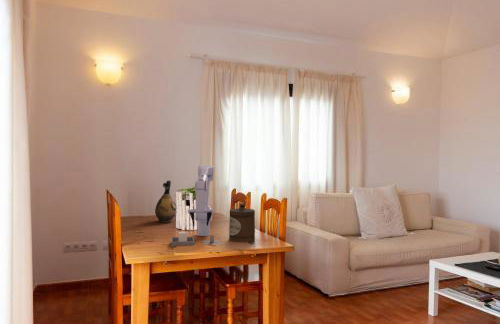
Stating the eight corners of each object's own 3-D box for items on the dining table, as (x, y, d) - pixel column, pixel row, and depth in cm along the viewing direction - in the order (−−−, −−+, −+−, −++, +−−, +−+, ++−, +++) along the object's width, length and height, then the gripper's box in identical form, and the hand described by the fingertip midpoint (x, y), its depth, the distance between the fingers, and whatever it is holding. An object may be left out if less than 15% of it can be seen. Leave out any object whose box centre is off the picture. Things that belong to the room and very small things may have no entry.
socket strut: (178, 244, 215) (178, 233, 215) (178, 242, 220) (178, 231, 220) (186, 244, 216) (187, 233, 216) (186, 242, 221) (186, 231, 221)
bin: (171, 242, 223) (171, 237, 223) (193, 242, 225) (193, 236, 225) (171, 247, 211) (171, 242, 211) (194, 247, 213) (194, 241, 213)
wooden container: (225, 239, 233) (226, 202, 233) (248, 237, 240) (249, 201, 239) (234, 245, 220) (235, 205, 219) (259, 243, 226) (259, 204, 226)
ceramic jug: (174, 223, 283) (174, 181, 283) (152, 223, 283) (153, 181, 283) (178, 219, 300) (179, 180, 300) (158, 219, 300) (158, 179, 300)
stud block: (202, 242, 225) (202, 232, 225) (219, 241, 227) (219, 232, 227) (203, 247, 214) (203, 237, 213) (222, 246, 215) (222, 236, 215)
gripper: (188, 202, 219) (187, 227, 220) (214, 202, 222) (214, 226, 222) (187, 201, 226) (187, 225, 226) (213, 201, 229) (212, 224, 229)
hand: (200, 225), depth 225 cm, fingers open, 7 cm apart
